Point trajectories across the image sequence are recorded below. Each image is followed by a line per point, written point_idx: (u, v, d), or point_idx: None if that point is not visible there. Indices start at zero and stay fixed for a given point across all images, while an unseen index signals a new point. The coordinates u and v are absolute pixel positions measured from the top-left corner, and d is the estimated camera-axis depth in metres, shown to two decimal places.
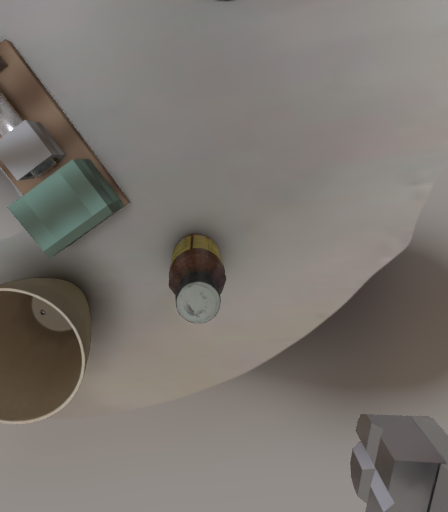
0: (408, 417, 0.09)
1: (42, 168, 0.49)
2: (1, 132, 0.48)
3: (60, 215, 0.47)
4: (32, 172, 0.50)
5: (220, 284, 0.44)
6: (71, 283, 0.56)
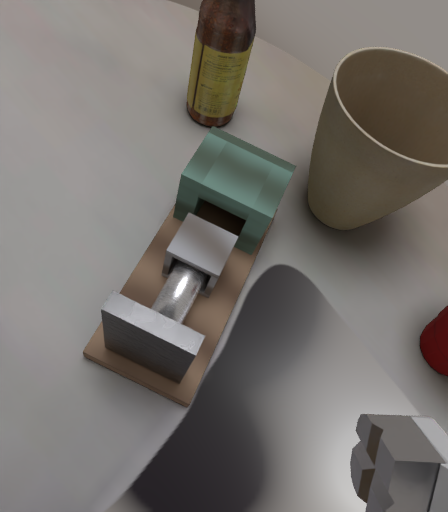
0: (408, 417, 0.09)
1: None
2: (196, 282, 0.37)
3: (246, 168, 0.40)
4: None
5: None
6: (308, 190, 0.49)
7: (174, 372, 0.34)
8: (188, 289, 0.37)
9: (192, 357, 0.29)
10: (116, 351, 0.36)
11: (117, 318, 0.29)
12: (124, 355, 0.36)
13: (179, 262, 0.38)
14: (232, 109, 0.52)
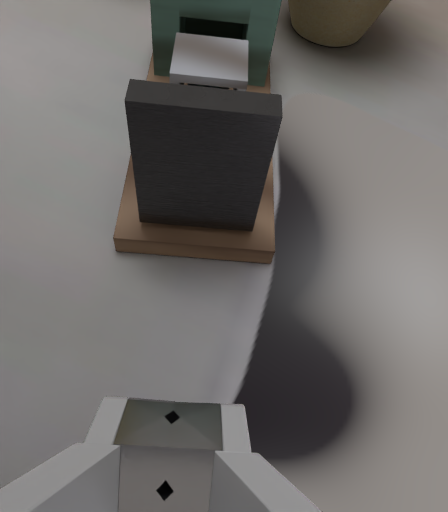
0: (217, 405, 0.09)
1: None
2: None
3: None
4: None
5: None
6: (292, 12, 0.41)
7: (245, 203, 0.24)
8: None
9: (276, 128, 0.20)
10: (157, 218, 0.26)
11: (153, 110, 0.19)
12: (169, 219, 0.26)
13: None
14: None
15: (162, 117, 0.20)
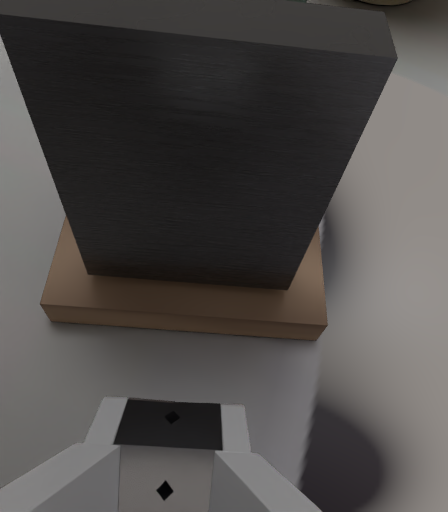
0: (217, 404, 0.09)
1: None
2: None
3: None
4: None
5: None
6: None
7: (281, 246, 0.13)
8: None
9: (374, 91, 0.08)
10: (118, 269, 0.14)
11: (70, 41, 0.08)
12: (140, 271, 0.15)
13: None
14: None
15: (97, 62, 0.08)
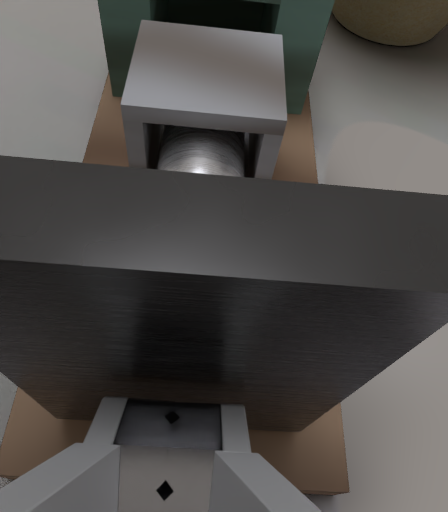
0: (217, 405, 0.09)
1: None
2: (231, 157, 0.14)
3: None
4: None
5: None
6: None
7: (293, 410, 0.10)
8: None
9: (439, 319, 0.06)
10: (92, 417, 0.12)
11: None
12: None
13: (168, 131, 0.15)
14: None
15: (27, 290, 0.05)
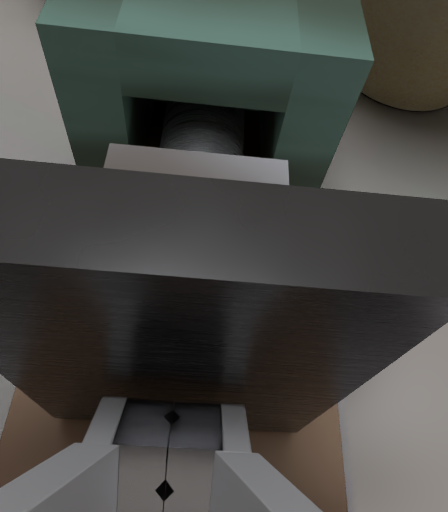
0: (217, 405, 0.09)
1: None
2: None
3: None
4: None
5: None
6: None
7: (290, 411, 0.10)
8: None
9: (434, 323, 0.06)
10: (90, 416, 0.12)
11: None
12: None
13: (167, 132, 0.15)
14: None
15: (24, 292, 0.05)
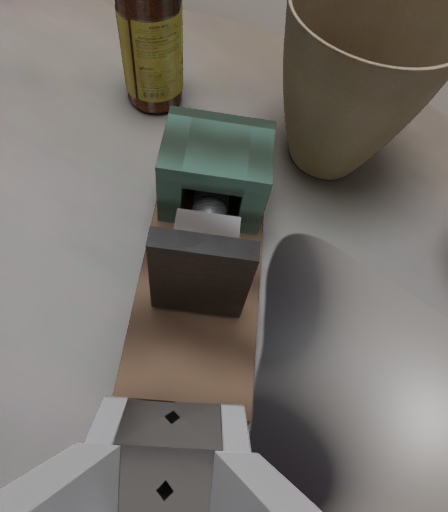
0: (217, 405, 0.09)
1: None
2: (221, 212, 0.35)
3: (223, 139, 0.35)
4: None
5: None
6: (290, 147, 0.44)
7: (233, 302, 0.32)
8: None
9: (255, 267, 0.27)
10: (165, 305, 0.33)
11: (165, 251, 0.26)
12: (174, 306, 0.33)
13: (196, 199, 0.36)
14: (180, 87, 0.46)
15: (172, 255, 0.27)
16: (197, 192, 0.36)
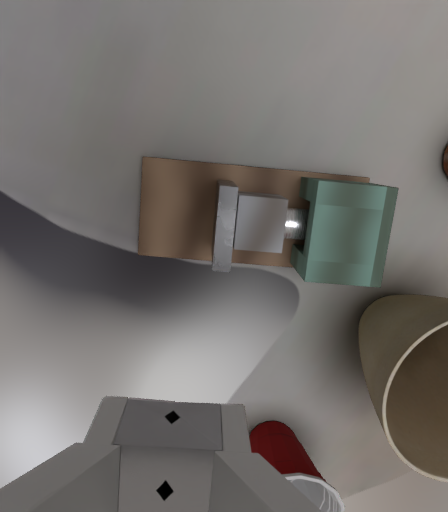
0: (217, 404, 0.09)
1: None
2: (293, 235, 0.41)
3: (354, 240, 0.38)
4: None
5: None
6: (389, 296, 0.46)
7: None
8: None
9: (212, 266, 0.36)
10: (216, 190, 0.42)
11: (218, 200, 0.35)
12: None
13: (308, 213, 0.41)
14: None
15: (217, 205, 0.35)
16: None
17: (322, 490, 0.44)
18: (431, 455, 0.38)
